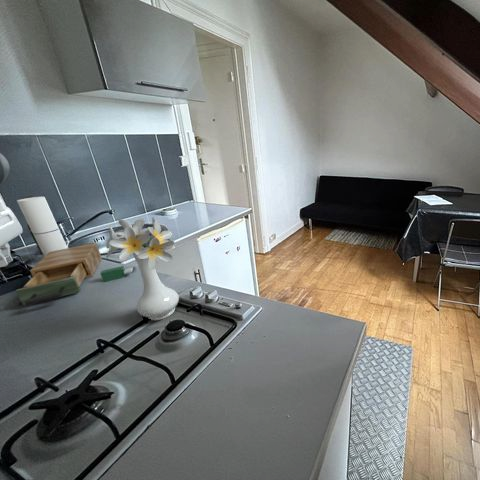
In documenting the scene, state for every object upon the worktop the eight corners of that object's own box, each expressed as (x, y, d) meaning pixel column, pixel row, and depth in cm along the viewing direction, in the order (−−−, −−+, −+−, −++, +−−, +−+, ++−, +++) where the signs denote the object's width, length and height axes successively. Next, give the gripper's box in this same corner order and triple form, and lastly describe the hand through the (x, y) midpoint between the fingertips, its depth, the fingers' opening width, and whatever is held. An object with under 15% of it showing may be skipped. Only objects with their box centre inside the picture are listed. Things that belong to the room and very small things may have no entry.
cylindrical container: (43, 265, 100) (11, 202, 90) (55, 258, 106) (26, 197, 97) (65, 262, 101) (35, 199, 92) (75, 255, 108) (49, 195, 99)
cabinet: (92, 276, 89) (85, 259, 87) (39, 288, 83) (29, 270, 81) (102, 258, 104) (96, 243, 101) (57, 267, 98) (49, 251, 95)
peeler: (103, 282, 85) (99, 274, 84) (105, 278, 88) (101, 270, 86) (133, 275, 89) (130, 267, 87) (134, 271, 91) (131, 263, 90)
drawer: (75, 299, 75) (68, 285, 73) (15, 314, 69) (6, 299, 67) (91, 270, 92) (86, 258, 90) (45, 280, 86) (38, 267, 85)
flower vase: (166, 339, 59) (130, 236, 50) (117, 319, 66) (79, 227, 57) (210, 306, 70) (188, 216, 60) (164, 292, 77) (138, 211, 68)
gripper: (-21, 200, 62) (8, 252, 67) (-88, 220, 46) (-43, 288, 51) (15, 196, 65) (40, 246, 70) (-35, 214, 48) (3, 278, 54)
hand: (5, 264), depth 60 cm, fingers closed
